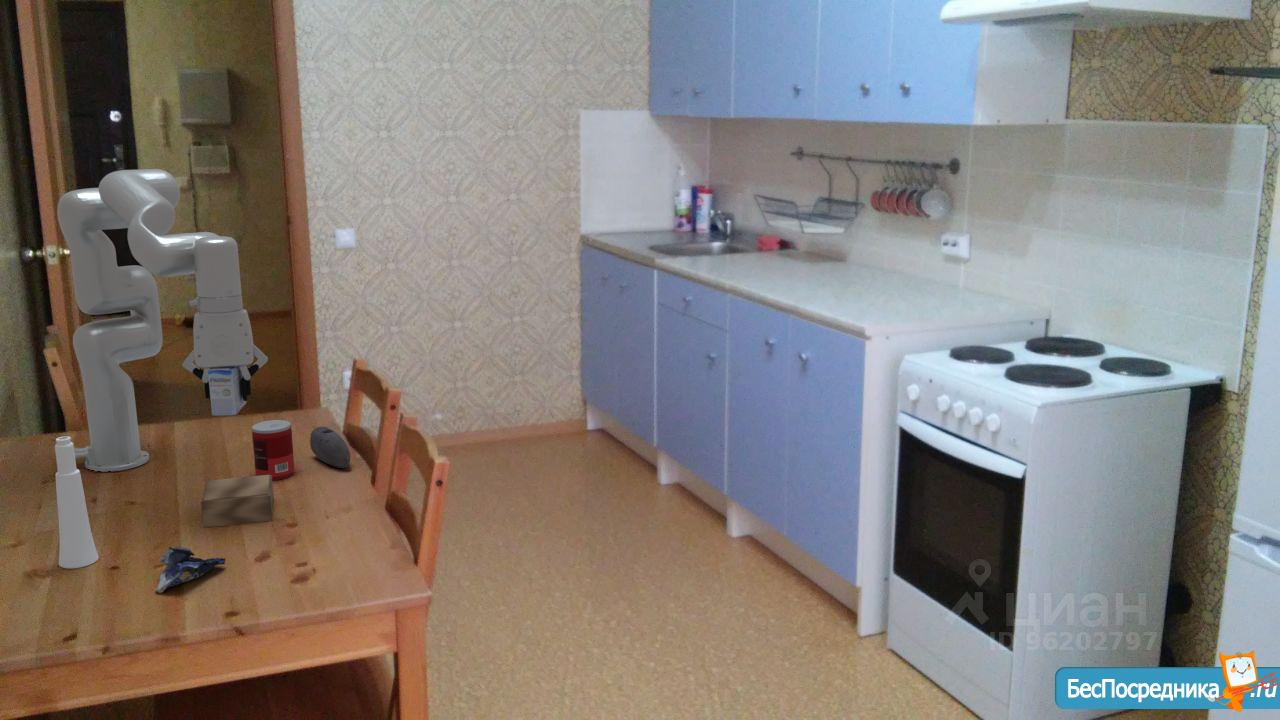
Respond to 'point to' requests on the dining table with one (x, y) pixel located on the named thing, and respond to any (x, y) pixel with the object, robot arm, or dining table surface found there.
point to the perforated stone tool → (330, 447)
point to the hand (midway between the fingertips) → (229, 399)
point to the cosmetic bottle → (72, 511)
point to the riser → (237, 501)
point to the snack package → (183, 567)
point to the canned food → (273, 449)
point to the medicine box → (226, 390)
